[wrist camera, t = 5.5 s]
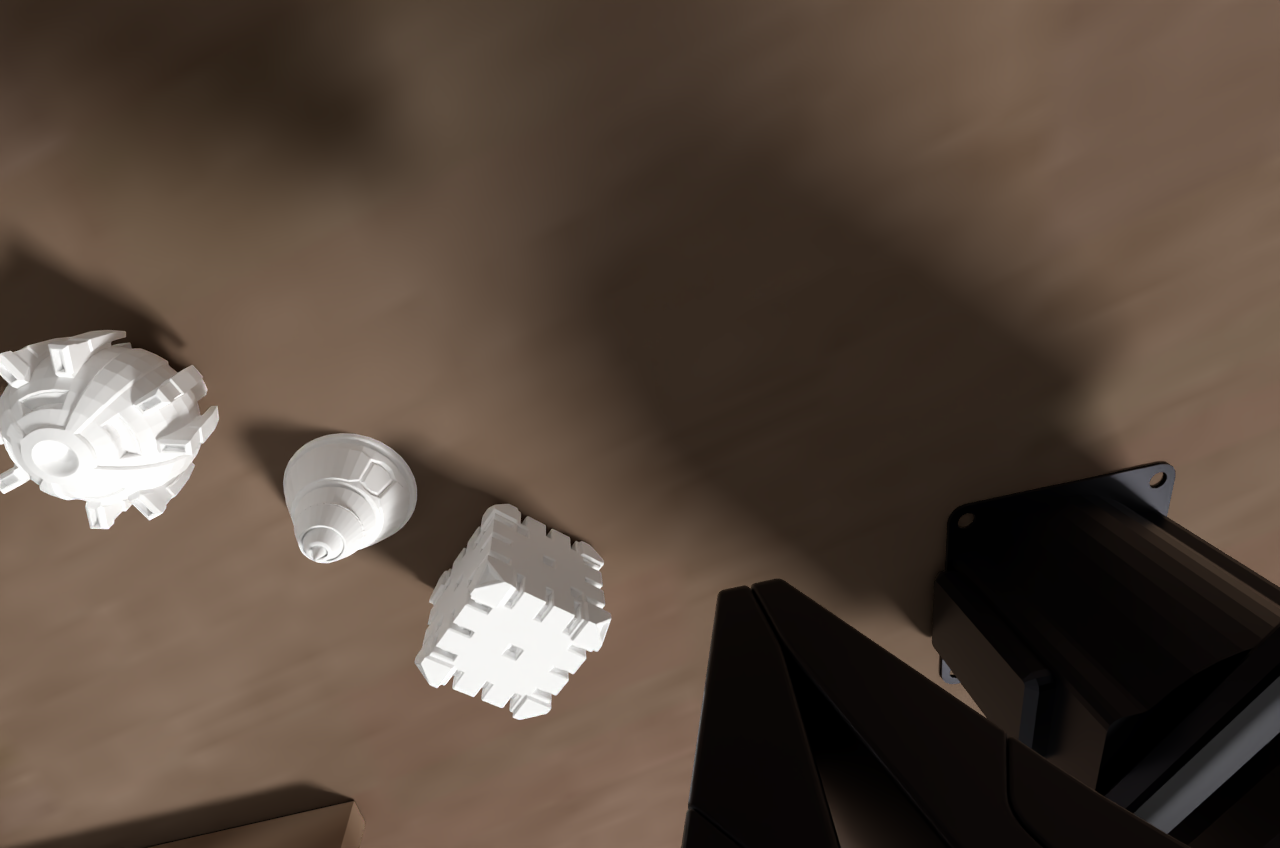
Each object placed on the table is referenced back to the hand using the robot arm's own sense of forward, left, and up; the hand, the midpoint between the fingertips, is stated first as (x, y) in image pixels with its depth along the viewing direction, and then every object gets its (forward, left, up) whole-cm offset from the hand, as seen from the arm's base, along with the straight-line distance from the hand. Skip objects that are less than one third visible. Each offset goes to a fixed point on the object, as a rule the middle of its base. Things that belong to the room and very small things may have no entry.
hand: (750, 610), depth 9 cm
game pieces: (+7, +1, -8) cm, 11 cm away
